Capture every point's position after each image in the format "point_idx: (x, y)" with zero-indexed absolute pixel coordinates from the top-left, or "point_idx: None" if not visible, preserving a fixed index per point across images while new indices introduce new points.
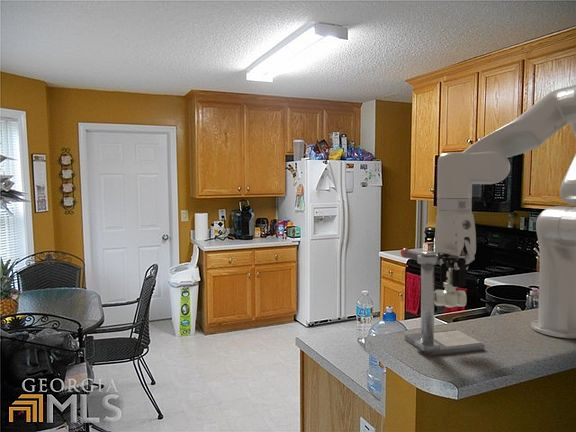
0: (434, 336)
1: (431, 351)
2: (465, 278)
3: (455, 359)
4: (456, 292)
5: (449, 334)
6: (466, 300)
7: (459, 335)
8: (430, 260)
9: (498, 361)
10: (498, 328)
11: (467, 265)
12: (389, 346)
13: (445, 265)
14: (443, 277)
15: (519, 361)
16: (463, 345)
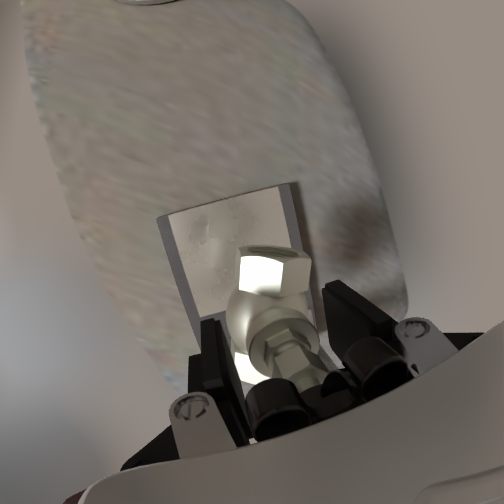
0: (222, 299)
1: (316, 325)
2: (357, 296)
3: (334, 275)
4: (294, 303)
5: (206, 253)
6: (305, 253)
7: (215, 226)
8: None
9: (351, 185)
10: (116, 77)
11: (458, 339)
12: None
13: (243, 430)
14: (240, 386)
15: (353, 139)
16: (292, 242)
